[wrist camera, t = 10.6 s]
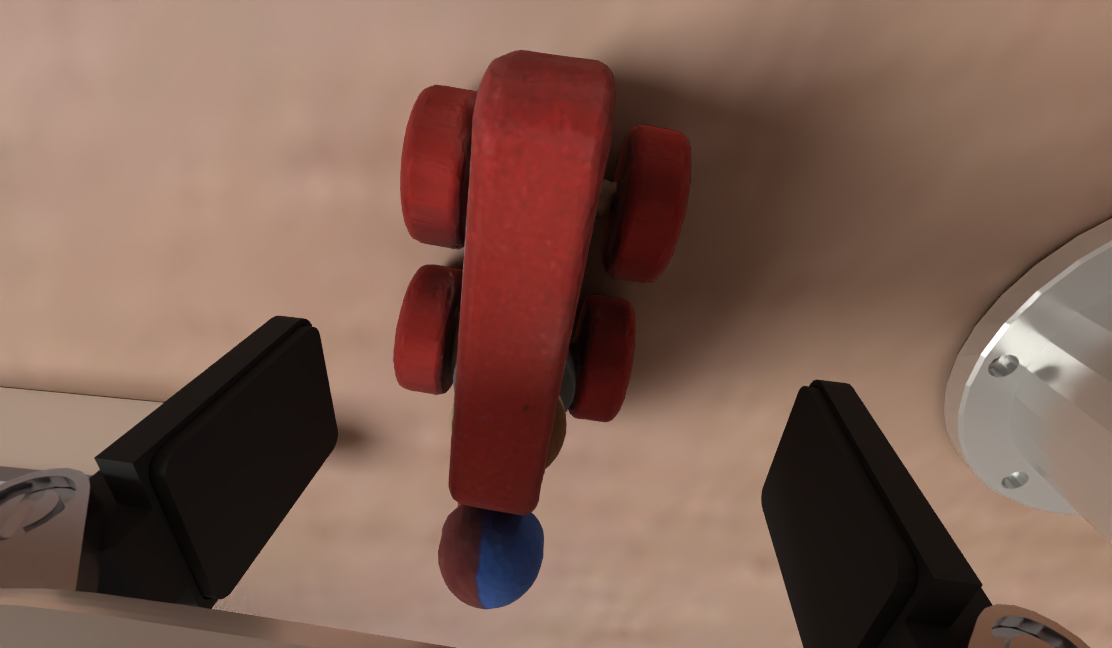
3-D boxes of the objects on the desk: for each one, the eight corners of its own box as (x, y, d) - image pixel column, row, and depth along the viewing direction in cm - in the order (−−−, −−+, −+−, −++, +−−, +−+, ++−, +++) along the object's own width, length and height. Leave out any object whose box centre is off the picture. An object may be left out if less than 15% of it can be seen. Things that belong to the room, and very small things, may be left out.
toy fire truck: (423, 381, 20) (282, 670, 11) (447, 16, 14) (168, -19, 5) (598, 414, 20) (602, 724, 11) (698, 69, 14) (889, 132, 5)
